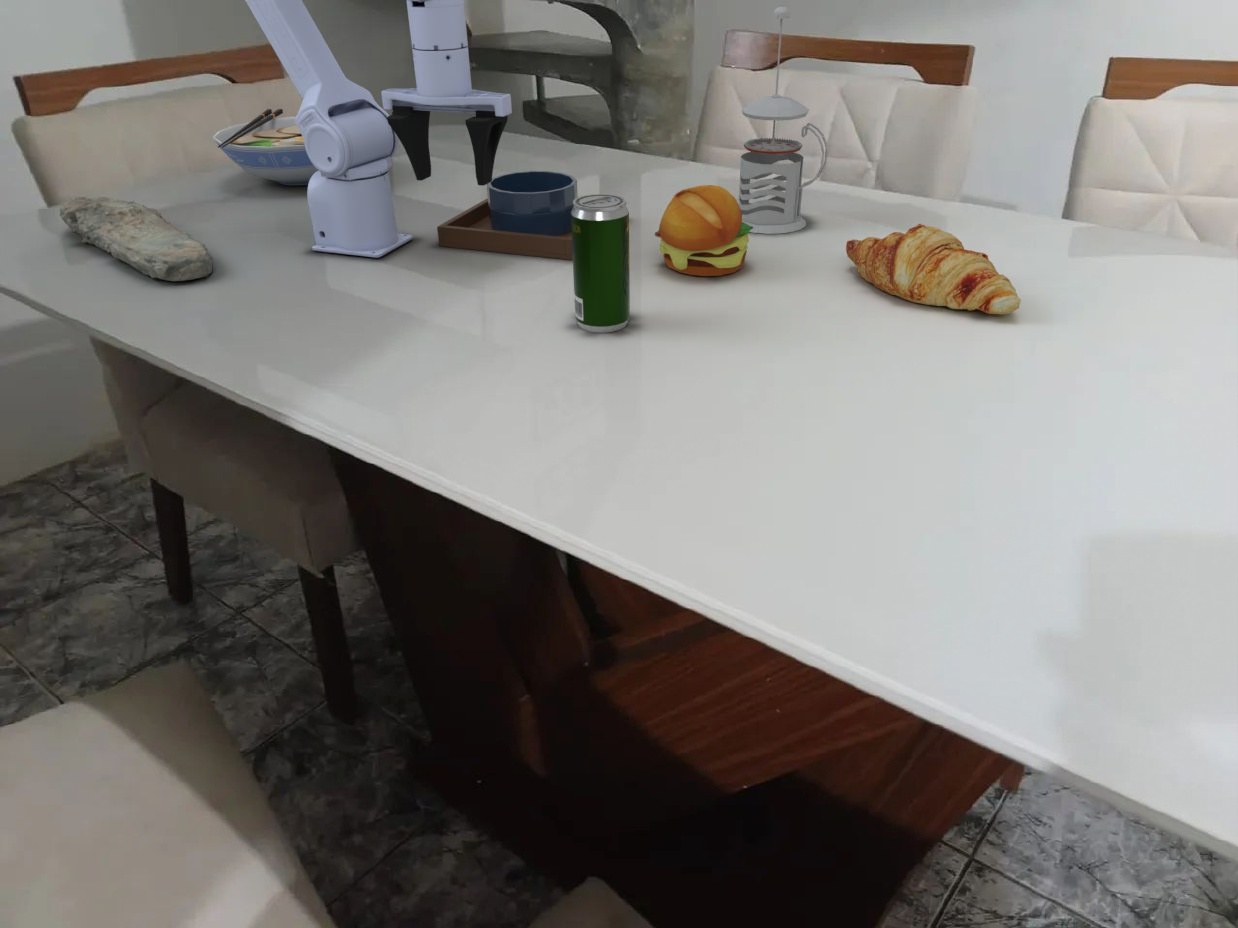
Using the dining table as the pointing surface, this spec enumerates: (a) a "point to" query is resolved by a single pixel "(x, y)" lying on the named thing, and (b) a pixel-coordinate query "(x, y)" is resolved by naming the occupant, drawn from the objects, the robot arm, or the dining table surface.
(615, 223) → the beer can
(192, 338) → the dining table surface
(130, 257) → the elongated rock
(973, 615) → the dining table surface
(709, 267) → the cheeseburger
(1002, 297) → the croissant
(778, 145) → the french press
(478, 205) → the serving tray
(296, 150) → the ramen bowl
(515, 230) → the blue bowl
